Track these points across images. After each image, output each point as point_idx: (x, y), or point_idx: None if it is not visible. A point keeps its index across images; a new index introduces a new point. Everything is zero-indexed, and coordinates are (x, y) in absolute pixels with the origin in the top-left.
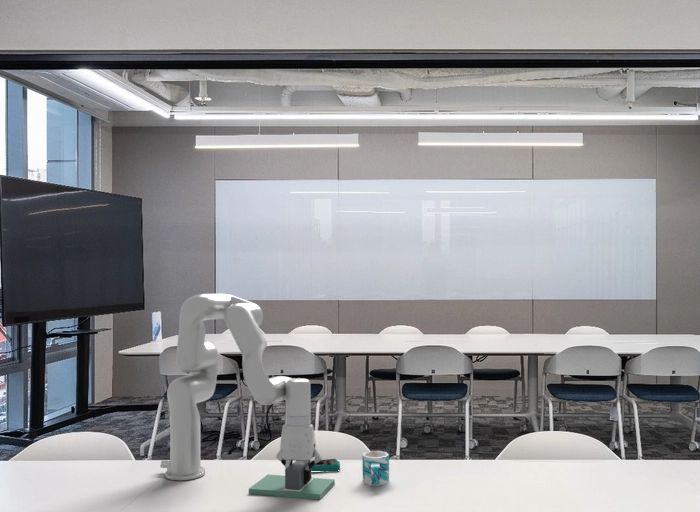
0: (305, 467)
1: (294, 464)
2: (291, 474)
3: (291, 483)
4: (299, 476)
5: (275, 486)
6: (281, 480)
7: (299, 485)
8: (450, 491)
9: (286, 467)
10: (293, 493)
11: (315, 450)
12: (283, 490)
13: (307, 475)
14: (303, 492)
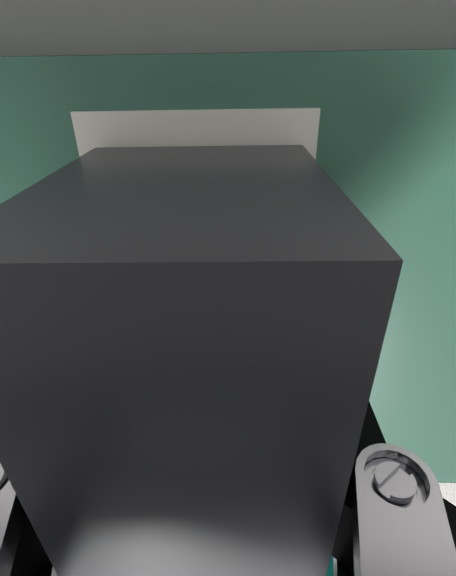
0: (5, 498)
1: (270, 562)
2: (190, 213)
3: (203, 160)
4: (6, 209)
5: (453, 221)
6: (414, 392)
7: (74, 161)
8: None
9: (404, 475)
10: (147, 55)
11: None
12: (313, 97)
13: None
14: (6, 84)
